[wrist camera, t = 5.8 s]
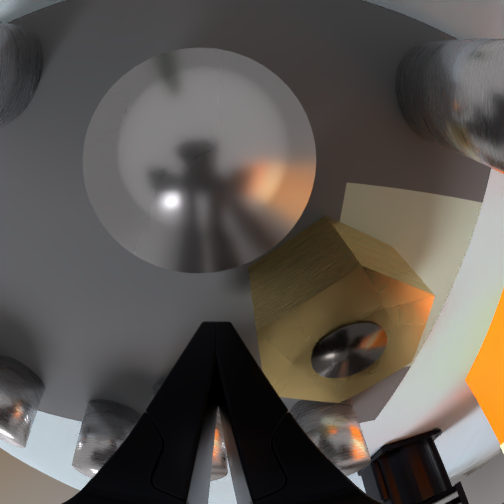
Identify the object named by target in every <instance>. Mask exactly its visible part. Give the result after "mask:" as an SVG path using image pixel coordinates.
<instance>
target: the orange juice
mask: <svg viewBox="0 0 504 504" xmlns="http://www.w3.org/2000/svg"><path fill="white" fill-rule="evenodd" d="M465 381H466V382H467V384H468V386H469V387H470V389H471V391H472V392H473V394H474V396H475V398H476V399H477V401H478V403H479V405H480V406H481V408H482V410H483V412H484V414H485V416H486V417H487V419H488V421H489V423H490V425H491V427H492V429H493V431H494V433H495V435H496V437H497V439H498V441H499V443H500V445H501V446H500V447H501V449H502V451H503V453H504V289H503V292H502V295H501V298H500V301H499V304H498V307H497V309H496V312H495V315H494V318H493V320H492V323H491V325H490V328H489V330H488V333H487V335H486V337H485V340H484V342H483V344H482V347H481V349H480V351H479V353H478V355H477V358H476V360H475V362H474V364H473V366H472V368H471V370H470V372H469V374H468V376H467V378H466V380H465Z"/></svg>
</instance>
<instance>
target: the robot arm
mask: <svg viewBox="0 0 504 504" xmlns="http://www.w3.org/2000/svg"><path fill="white" fill-rule="evenodd" d="M218 407H219V413H220V419H221V425H222V430H223V436H224V441H225V446H226V452H227V457H228V462H229V467H230V472H231V477H232V481H233V486H234V491H235V495H236V500H237V504H436V503H438V502H440V501H441V500H443V499H445V498H447V497H449V496H451V495H453V494H455V493H456V492H458V495H459V496H458V497H456V498H454V499H453V500H451V501H449V502H447V503H445V504H469V503H468V500H467V498H466V495H465V492H464V490H463V487H462V485H461V482H458V483H457V484H455V486H453V487H452V485H451V482H450V479H449V477H448V474H447V472H446V469H445V467H444V464H443V462H442V460H441V457H440V455H439V452H438V450H437V448H436V445H435V443H434V440H435V439H436V438H437V437H438V436H439V435H440V434H441V433H442V431H441V429H438V430H435V431H432V432H429V433H427V434H424V435H421V436H418V437H415V438H412V439H409V440H406V441H402V442H399V443H396V444H392V445H389V446H386V447H383V448H382V449H380V451H379V452H378V453H377V454H376V455H375V456H374V457H373V458H372V459H371V462H370V463H369V464H368V465H367V466H366V467H364V468H363V469H361V470H359V471H358V472H357V473H358V476H361V477H362V480H363V484H364V487H365V491H366V493H364V492H363V491H362V490H361V489H359V488H358V487H357V486H356V485H355V484H354V483H353V482H352V481H351V480H350V479H349V478H348V477H347V476H346V475H345V474H344V473H342V472H341V471H340V470H339V469H338V468H337V467H336V466H335V465H334V464H333V463H332V462H331V461H330V460H329V459H328V458H327V457H326V456H325V455H324V454H323V452H322V451H321V450H320V449H319V448H318V447H317V446H316V445H315V444H314V443H313V441H312V440H311V439H310V438H309V437H308V435H307V434H306V433H305V432H304V430H303V429H302V428H301V426H300V425H299V424H298V422H297V421H296V420H295V418H294V417H293V415H292V414H291V413H290V412H289V410H288V408H287V407H286V405H285V404H284V402H283V401H282V400H281V398H280V397H279V395H278V394H277V392H276V391H275V389H274V388H273V386H272V385H271V383H270V382H269V380H268V379H267V377H266V376H265V374H264V373H263V371H262V370H261V368H260V367H259V365H258V364H257V362H256V361H255V359H254V357H253V356H252V354H251V353H250V351H249V350H248V348H247V347H246V345H245V343H244V342H243V340H242V339H241V337H240V336H239V334H238V332H237V331H236V329H235V328H234V326H233V324H232V323H231V322H230V321H217V322H216V321H203V322H202V323H201V324H200V326H199V327H198V329H197V330H196V332H195V334H194V335H193V337H192V338H191V340H190V341H189V343H188V344H187V346H186V347H185V349H184V351H183V352H182V354H181V355H180V357H179V358H178V360H177V361H176V363H175V364H174V366H173V368H172V369H171V371H170V372H169V374H168V375H167V377H166V378H165V380H164V382H163V383H162V385H161V386H160V388H159V389H158V391H157V392H156V394H155V396H154V397H153V399H152V400H151V402H150V403H149V405H148V406H147V408H146V410H145V411H146V412H143V414H142V415H141V417H140V419H139V420H138V422H137V423H136V425H135V426H134V428H133V429H132V430H131V432H130V433H129V435H128V436H127V438H126V439H125V440H124V441H123V443H122V444H121V445H120V446H119V448H118V449H117V450H116V451H115V453H114V454H113V455H112V456H111V457H110V458H109V460H108V461H107V462H106V463H105V464H104V465H103V466H102V468H101V469H100V470H99V471H98V472H97V473H96V474H95V475H94V477H93V478H92V479H91V480H90V481H89V482H88V483H87V484H86V486H85V487H84V488H83V489H82V490H81V491H80V492H79V493H77V494H76V495H75V496H74V497H72V498H71V499H69V500H68V501H66V502H64V503H62V504H208V497H209V487H210V477H211V467H212V458H213V448H214V439H215V429H216V420H217V411H218ZM502 504H504V503H502Z"/></svg>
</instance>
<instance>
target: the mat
mask: <svg viewBox="0 0 504 504" xmlns="http://www.w3.org/2000/svg"><path fill="white" fill-rule="evenodd" d="M9 24H15V25H21V26H26V27H28V28H30V29H32V30H33V31H34V32H35V33H36V34H37V36H38V38H39V40H40V43H41V46H42V53H43V64H42V72H41V77H40V80H39V84H38V87H37V89H36V92H35V94H34V96H33V98H32V100H31V102H30V103H29V105H28V106H27V108H26V109H25V110H24V111H23V113H22V114H21V115H20V116H19V117H18V118H16V119H15V120H14V121H12V122H10V123H9V124H6V125H3V126H0V357H1V356H7V357H10V358H13V359H15V360H17V361H19V362H21V363H22V364H24V365H25V366H27V367H28V368H29V369H30V370H31V371H33V372H34V373H35V374H36V375H37V376H38V377H39V379H40V380H41V381H42V383H43V385H44V387H45V392H44V394H43V397H42V400H41V402H40V405H39V408H38V411H42V412H45V413H49V414H53V415H56V416H60V417H64V418H69V419H73V420H77V421H83V418H84V414H85V410H86V407H87V404H88V402H90V401H91V400H96V399H103V400H110V401H114V402H117V403H120V404H123V405H125V406H127V407H129V408H131V409H133V410H134V411H136V412H137V413H138V414H140V415H142V414H143V412H146V411H145V410H146V408H147V406H148V405H149V403H150V402H151V400H152V393H153V388H154V386H155V384H156V383H157V382H158V381H160V380H161V379H164V378H166V377H167V375H168V374H169V372H170V371H171V369H172V368H173V366H174V364H175V363H176V361H177V360H178V358H179V357H180V355H181V354H182V352H183V351H184V349H185V347H186V346H187V344H188V343H189V341H190V340H191V338H192V337H193V335H194V334H195V332H196V330H197V329H198V327H199V326H200V324H201V323H202V322H203V321H216V322H217V321H230V322H231V323H232V324H233V326H234V328H235V329H236V331H237V332H238V334H239V336H240V337H241V339H242V340H243V342H244V343H245V345H246V347H247V348H248V350H249V351H250V353H251V354H252V356H253V357H254V359H255V361H256V362H257V364H258V365H259V367H260V368H261V370H262V366H261V359H260V352H259V345H258V339H257V332H256V324H255V317H254V309H253V301H252V294H251V286H250V278H249V271H248V267H249V266H251V265H252V264H254V263H255V262H257V261H258V260H260V259H261V258H263V257H264V256H266V255H267V254H269V253H270V252H272V251H273V250H275V249H276V248H278V247H279V246H281V245H282V244H284V243H285V242H287V241H288V240H290V239H291V238H293V237H294V236H296V235H297V234H299V233H300V232H302V231H303V230H305V229H306V228H308V227H309V226H311V225H312V224H313V223H315V222H316V221H318V220H319V219H321V218H322V217H324V216H328V217H330V218H332V219H335V220H337V221H339V222H341V223H343V224H346V225H348V226H350V227H352V228H354V229H357V230H359V231H361V232H363V233H365V234H367V235H369V236H372V237H374V238H376V239H378V240H380V241H382V242H384V243H386V244H388V245H390V246H392V247H393V248H394V249H395V250H396V251H397V252H398V253H399V254H400V255H401V257H402V258H403V259H404V260H405V261H406V262H407V263H408V264H409V266H410V267H411V268H412V269H413V270H414V271H415V272H416V274H417V275H418V276H419V277H420V278H421V279H422V281H423V282H424V283H425V284H426V285H427V287H428V288H429V289H430V290H431V291H432V293H433V294H434V295H435V297H434V301H433V304H432V307H431V311H430V314H429V317H428V320H427V323H426V326H425V329H424V332H423V334H422V337H421V340H420V343H419V345H418V348H417V351H416V353H415V356H414V358H413V361H412V362H411V363H410V364H408V365H406V366H405V367H403V368H402V369H400V370H398V371H397V372H395V373H393V374H392V375H390V376H388V377H387V378H385V379H383V380H382V381H380V382H378V383H376V384H374V385H373V386H371V387H369V388H367V389H365V390H364V391H362V392H360V393H358V394H356V395H354V396H352V397H350V398H351V401H352V404H353V406H354V409H355V412H356V415H357V418H358V421H359V423H361V422H366V421H371V420H375V419H376V417H377V416H378V415H379V413H380V412H381V411H382V409H383V408H384V406H385V405H386V404H387V402H388V401H389V399H390V398H391V396H392V395H393V393H394V392H395V390H396V389H397V387H398V386H399V384H400V383H401V381H402V380H403V378H404V377H405V375H406V373H407V372H408V370H409V368H410V367H411V365H412V364H413V362H414V360H415V358H416V357H417V355H418V353H419V352H420V350H421V348H422V346H423V344H424V343H425V341H426V339H427V337H428V335H429V333H430V332H431V330H432V328H433V326H434V324H435V322H436V320H437V318H438V316H439V314H440V312H441V310H442V308H443V306H444V304H445V301H446V299H447V297H448V295H449V293H450V290H451V288H452V286H453V284H454V281H455V279H456V277H457V274H458V272H459V269H460V267H461V264H462V262H463V259H464V257H465V254H466V251H467V248H468V246H469V243H470V240H471V237H472V234H473V231H474V228H475V225H476V222H477V219H478V216H479V212H480V209H481V206H482V202H483V198H484V195H485V191H486V187H487V183H488V179H489V175H490V170H491V167H489V166H486V165H484V164H482V163H480V162H478V161H475V160H473V159H471V158H468V157H466V156H464V155H461V154H459V153H456V152H454V151H451V150H449V149H446V148H444V147H441V146H439V145H436V144H433V143H430V142H428V141H425V140H424V139H422V138H420V137H419V136H418V135H416V134H415V133H414V132H413V131H412V129H411V128H410V127H409V126H408V124H407V123H406V121H405V120H404V118H403V116H402V114H401V111H400V109H399V106H398V102H397V98H396V90H395V78H396V72H397V68H398V65H399V63H400V60H401V59H402V57H403V55H404V54H405V53H406V52H407V51H408V50H409V49H410V48H412V47H413V46H415V45H418V44H421V43H429V42H438V41H449V40H458V39H456V38H454V37H452V36H450V35H448V34H446V33H444V32H442V31H440V30H438V29H436V28H434V27H432V26H429V25H427V24H425V23H423V22H420V21H418V20H416V19H413V18H411V17H408V16H406V15H403V14H401V13H398V12H395V11H393V10H390V9H387V8H384V7H381V6H378V5H375V4H372V3H369V2H366V1H362V0H67V1H63V2H60V3H57V4H54V5H51V6H48V7H46V8H43V9H40V10H37V11H35V12H32V13H30V14H27V15H25V16H22V17H20V18H18V19H15V20H13V21H11V22H9ZM187 48H216V49H221V50H226V51H231V52H234V53H237V54H240V55H243V56H246V57H248V58H250V59H252V60H254V61H256V62H258V63H260V64H262V65H263V66H265V67H266V68H268V69H269V70H270V71H272V72H273V73H274V74H276V75H277V76H278V77H279V78H280V79H281V80H282V81H283V82H284V83H285V84H286V85H287V86H288V87H289V88H290V89H291V91H292V92H293V93H294V95H295V96H296V97H297V99H298V100H299V102H300V103H301V105H302V107H303V109H304V111H305V113H306V115H307V117H308V120H309V123H310V125H311V128H312V132H313V136H314V141H315V148H316V172H315V178H314V183H313V188H312V191H311V194H310V197H309V200H308V203H307V205H306V207H305V209H304V211H303V213H302V215H301V216H300V218H299V219H298V221H297V222H296V224H295V225H294V227H293V228H292V229H291V230H290V232H289V233H288V234H287V235H286V236H285V237H284V238H283V239H282V240H281V241H280V242H279V243H278V244H277V245H276V246H274V247H273V248H272V249H270V250H269V251H268V252H266V253H265V254H263V255H262V256H260V257H258V258H256V259H254V260H253V261H251V262H249V263H246V264H244V265H241V266H239V267H236V268H232V269H228V270H225V271H219V272H213V273H184V272H178V271H172V270H168V269H165V268H161V267H158V266H155V265H153V264H151V263H148V262H146V261H144V260H142V259H140V258H139V257H137V256H135V255H134V254H132V253H131V252H129V251H128V250H127V249H125V248H124V247H123V246H121V245H120V244H119V243H118V242H117V241H116V240H115V239H114V238H113V237H112V236H111V235H110V234H109V232H108V231H107V230H106V229H105V227H104V226H103V225H102V223H101V222H100V220H99V218H98V217H97V215H96V213H95V211H94V209H93V207H92V205H91V203H90V200H89V197H88V194H87V191H86V187H85V182H84V176H83V159H82V158H83V148H84V141H85V137H86V133H87V129H88V126H89V124H90V121H91V118H92V116H93V114H94V112H95V110H96V108H97V107H98V105H99V103H100V101H101V100H102V98H103V97H104V96H105V94H106V93H107V92H108V91H109V89H110V88H111V87H112V86H113V85H114V84H115V83H116V82H117V81H118V80H119V79H120V78H121V77H122V76H123V75H125V74H126V73H127V72H129V71H130V70H131V69H133V68H134V67H136V66H137V65H139V64H141V63H143V62H145V61H146V60H148V59H150V58H153V57H155V56H158V55H161V54H163V53H166V52H170V51H175V50H179V49H187ZM280 398H281V400H282V401H283V402H284V404H285V405H286V407H287V408H288V410H289V412H290V410H291V408H292V407H293V406H294V405H295V404H296V403H297V402H299V401H300V400H302V399H293V398H285V397H280Z"/></svg>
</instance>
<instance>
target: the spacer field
mask: <svg viewBox="0 0 504 504" xmlns="http://www.w3.org/2000/svg"><path fill="white" fill-rule="evenodd" d="M42 64H43V53H42V46H41V43H40V40H39V38H38V36H37V34H36V33H35V32H34V31H33V30H32V29H30V28H28V27H26V26H21V25H15V24H9V23H2V22H0V126H3V125H6V124H9V123H10V122H12V121H14V120H15V119H16V118H18V117H19V116H20V115H21V114H22V113H23V111H24V110H25V109H26V108H27V106H28V105H29V103H30V102H31V100H32V98H33V96H34V94H35V92H36V89H37V87H38V84H39V80H40V77H41V72H42ZM395 90H396V98H397V102H398V106H399V109H400V111H401V114H402V116H403V118H404V120H405V121H406V123H407V124H408V126H409V127H410V128H411V129H412V131H413V132H414V133H415V134H416V135H418V136H419V137H420V138H422V139H424V140H425V141H428V142H430V143H433V144H436V145H439V146H441V147H444V148H446V149H449V150H451V151H454V152H456V153H459V154H461V155H464V156H466V157H468V158H471V159H473V160H475V161H478V162H480V163H482V164H484V165H486V166H489V167H491V168H493V169H495V170H497V171H499V172H501V173H503V174H504V39H464V40H449V41H438V42H429V43H421V44H418V45H415V46H413V47H412V48H410V49H409V50H408V51H407V52H406V53H405V54H404V55H403V57H402V59H401V60H400V63H399V65H398V68H397V72H396V78H395ZM82 159H83V176H84V182H85V187H86V191H87V194H88V197H89V200H90V203H91V205H92V207H93V209H94V211H95V213H96V215H97V217H98V218H99V220H100V222H101V223H102V225H103V226H104V227H105V229H106V230H107V231H108V232H109V234H110V235H111V236H112V237H113V238H114V239H115V240H116V241H117V242H118V243H119V244H120V245H121V246H123V247H124V248H125V249H127V250H128V251H129V252H131V253H132V254H134V255H135V256H137V257H139V258H140V259H142V260H144V261H146V262H148V263H151V264H153V265H155V266H158V267H161V268H165V269H168V270H172V271H178V272H184V273H213V272H219V271H225V270H228V269H232V268H236V267H239V266H241V265H244V264H246V263H249V262H251V261H253V260H254V259H256V258H258V257H260V256H262V255H263V254H265V253H266V252H268V251H269V250H270V249H272V248H273V247H274V246H276V245H277V244H278V243H279V242H280V241H281V240H282V239H283V238H284V237H285V236H286V235H287V234H288V233H289V232H290V230H291V229H292V228H293V227H294V225H295V224H296V222H297V221H298V219H299V218H300V216H301V215H302V213H303V211H304V209H305V207H306V205H307V203H308V200H309V197H310V194H311V191H312V188H313V183H314V178H315V172H316V148H315V141H314V136H313V132H312V128H311V125H310V123H309V120H308V117H307V115H306V113H305V111H304V109H303V107H302V105H301V103H300V102H299V100H298V99H297V97H296V96H295V95H294V93H293V92H292V91H291V89H290V88H289V87H288V86H287V85H286V84H285V83H284V82H283V81H282V80H281V79H280V78H279V77H278V76H277V75H276V74H274V73H273V72H272V71H270V70H269V69H268V68H266V67H265V66H263V65H262V64H260V63H258V62H256V61H254V60H252V59H250V58H248V57H246V56H243V55H240V54H237V53H234V52H231V51H226V50H221V49H216V48H187V49H179V50H175V51H170V52H166V53H163V54H161V55H158V56H155V57H153V58H150V59H148V60H146V61H145V62H143V63H141V64H139V65H137V66H136V67H134V68H133V69H131V70H130V71H129V72H127V73H126V74H125V75H123V76H122V77H121V78H120V79H119V80H118V81H117V82H116V83H115V84H114V85H113V86H112V87H111V88H110V89H109V91H108V92H107V93H106V94H105V96H104V97H103V98H102V100H101V101H100V103H99V105H98V107H97V108H96V110H95V112H94V114H93V116H92V118H91V121H90V124H89V126H88V129H87V133H86V137H85V141H84V148H83V158H82ZM164 380H165V378H164V379H161V380H160V381H158V382H157V383H156V384H155V386H154V388H153V393H152V399H153V397H154V396H155V394H156V392H157V391H158V389H159V388H160V386H161V385H162V383H163V382H164ZM44 392H45V387H44V385H43V383H42V381H41V380H40V379H39V377H38V376H37V375H36V374H35V373H34V372H33V371H31V370H30V369H29V368H28V367H27V366H25V365H24V364H22V363H21V362H19V361H17V360H15V359H13V358H10V357H7V356H1V357H0V439H2V440H4V441H6V442H7V443H10V444H12V445H14V446H17V447H20V448H25V447H26V443H27V440H28V437H29V434H30V431H31V428H32V425H33V422H34V419H35V416H36V413H37V410H38V408H39V405H40V402H41V400H42V397H43V394H44ZM290 413H291V414H292V415H293V417H294V418H295V420H296V421H297V422H298V424H299V425H300V426H301V428H302V429H303V430H304V432H305V433H306V434H307V435H308V437H309V438H310V439H311V440H312V441H313V443H314V444H315V445H316V446H317V447H318V448H319V449H320V450H321V451H322V452H323V454H324V455H325V456H326V457H327V458H328V459H329V460H330V461H331V462H332V463H333V464H334V465H335V466H336V467H337V468H338V469H339V470H340V471H341V472H342V473H344V474H345V475H346V476H348V475H350V474H353V473H355V472H357V471H359V470H361V469H363V468H364V467H366V466H367V465H368V464H369V463H370V462H371V458H370V455H369V452H368V448H367V445H366V442H365V439H364V436H363V433H362V430H361V427H360V424H359V421H358V418H357V415H356V412H355V409H354V406H353V404H352V401H351V398H348V399H346V400H344V401H342V402H340V403H333V402H321V401H311V400H300V401H299V402H297V403H296V404H295V405H294V406H293V407H292V408H291V410H290ZM140 417H141V415H140V414H138V413H137V412H136V411H134V410H133V409H131V408H129V407H127V406H125V405H123V404H120V403H117V402H114V401H110V400H103V399H96V400H91V401H90V402H88V404H87V407H86V410H85V414H84V418H83V421H82V425H81V429H80V433H79V437H78V441H77V445H76V449H75V454H74V458H73V463H72V466H73V467H74V468H75V469H76V470H77V471H79V472H80V473H82V474H84V475H86V476H88V477H90V478H93V477H94V475H95V474H96V473H97V472H98V471H99V470H100V469H101V468H102V466H103V465H104V464H105V463H106V462H107V461H108V460H109V458H110V457H111V456H112V455H113V454H114V453H115V451H116V450H117V449H118V448H119V446H120V445H121V444H122V443H123V441H124V440H125V439H126V438H127V436H128V435H129V433H130V432H131V430H132V429H133V428H134V426H135V425H136V423H137V422H138V420H139V419H140ZM227 473H228V470H227V452H226V446H225V441H224V436H223V430H222V425H221V419H220V413H219V407H218V411H217V420H216V429H215V439H214V448H213V458H212V467H211V477H210V481H212V480H217V479H220V478H223V477H224V476H226V475H227Z"/></svg>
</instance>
